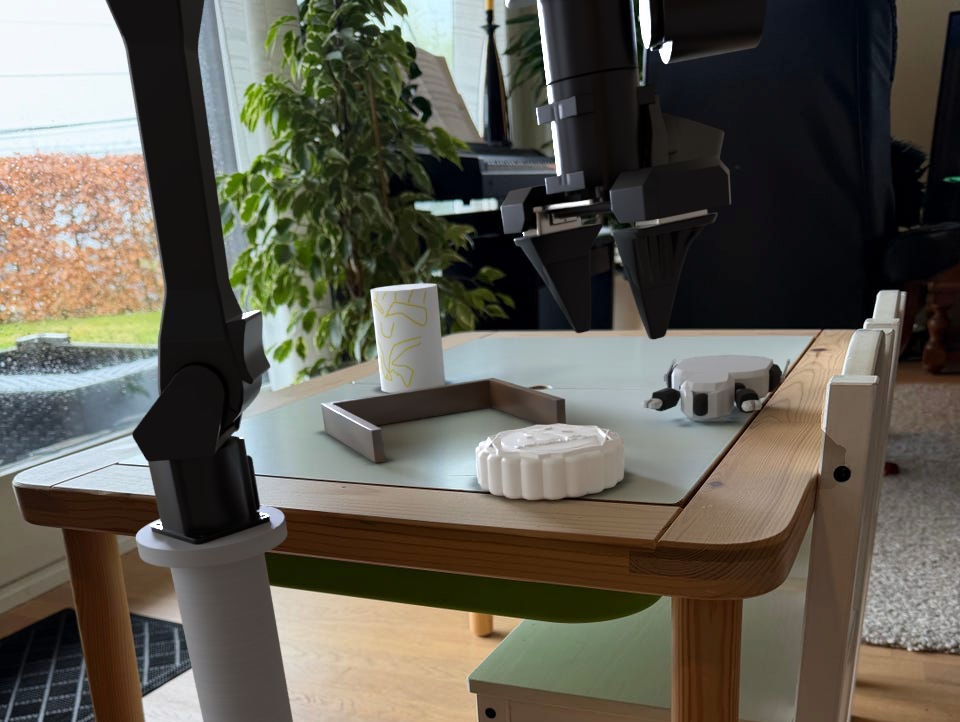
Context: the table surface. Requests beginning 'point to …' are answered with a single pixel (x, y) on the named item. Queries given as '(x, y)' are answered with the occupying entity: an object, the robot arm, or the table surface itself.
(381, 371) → the cup
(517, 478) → the mooncake
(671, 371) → the robot toy
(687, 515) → the table surface
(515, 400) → the frame
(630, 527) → the table surface
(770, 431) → the table surface
